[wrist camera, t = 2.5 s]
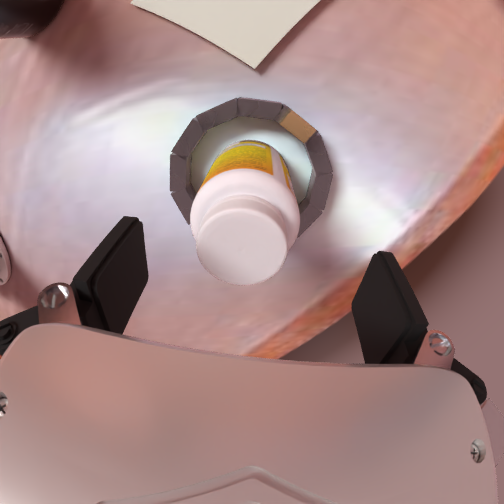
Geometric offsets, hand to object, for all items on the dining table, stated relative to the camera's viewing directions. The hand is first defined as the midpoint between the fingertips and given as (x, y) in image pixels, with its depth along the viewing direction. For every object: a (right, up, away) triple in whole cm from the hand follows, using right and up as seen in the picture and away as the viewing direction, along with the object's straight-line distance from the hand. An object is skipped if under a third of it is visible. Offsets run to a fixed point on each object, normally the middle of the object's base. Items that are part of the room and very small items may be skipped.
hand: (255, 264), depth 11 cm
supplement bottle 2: (0, +6, +10) cm, 12 cm away
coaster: (-1, +19, +1) cm, 19 cm away
